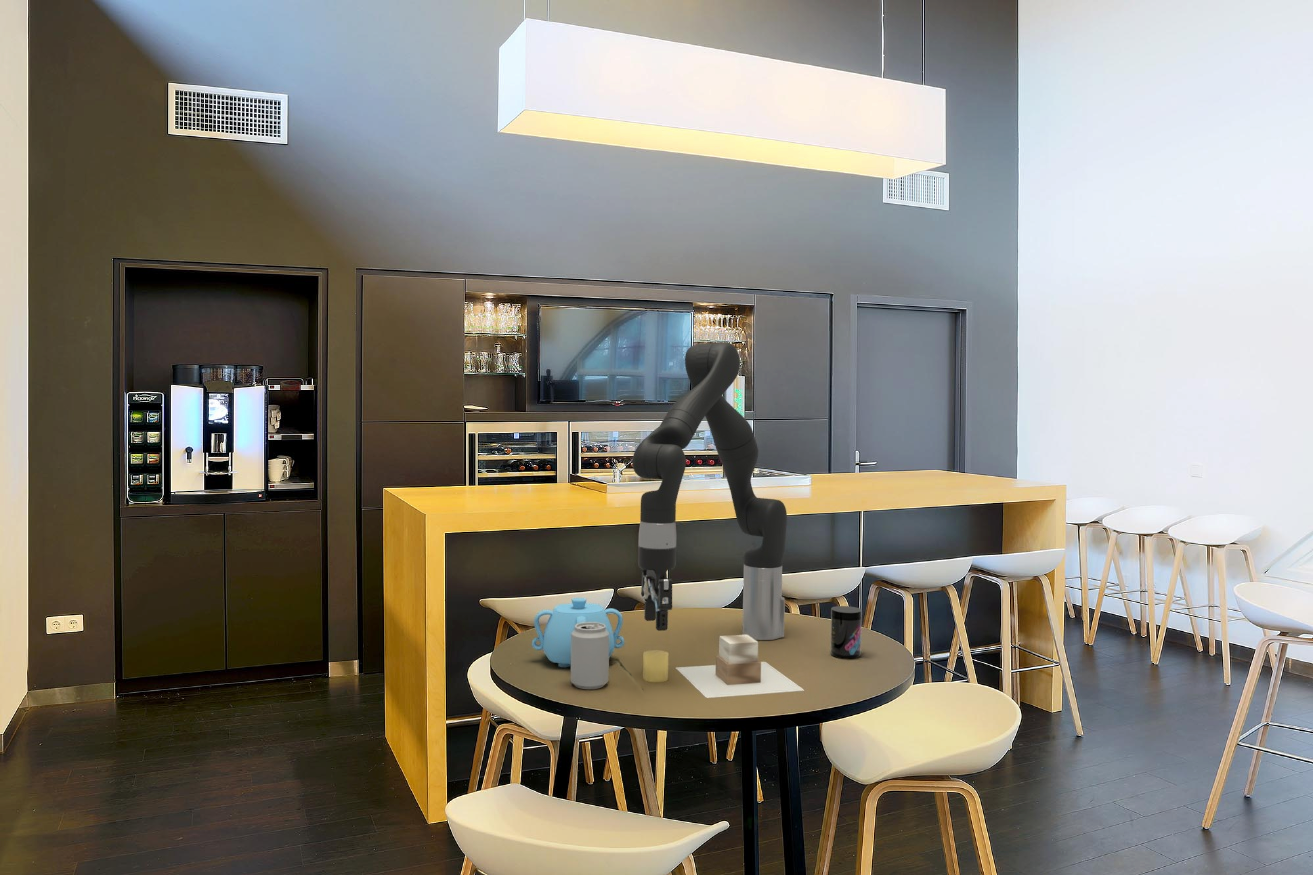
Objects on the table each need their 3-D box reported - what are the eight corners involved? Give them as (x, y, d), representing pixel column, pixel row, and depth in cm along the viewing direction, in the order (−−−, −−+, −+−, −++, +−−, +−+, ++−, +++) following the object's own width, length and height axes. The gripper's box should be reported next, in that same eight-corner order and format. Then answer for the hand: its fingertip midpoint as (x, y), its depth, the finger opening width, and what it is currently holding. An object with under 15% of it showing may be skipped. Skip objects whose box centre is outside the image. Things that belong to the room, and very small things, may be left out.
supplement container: (840, 660, 204) (841, 613, 203) (824, 652, 210) (825, 606, 210) (866, 658, 206) (867, 611, 205) (850, 650, 212) (851, 605, 212)
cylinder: (664, 678, 189) (664, 649, 188) (671, 686, 184) (671, 656, 184) (640, 680, 187) (640, 651, 187) (646, 687, 182) (647, 657, 182)
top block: (746, 653, 190) (747, 634, 189) (757, 662, 184) (758, 642, 184) (718, 655, 188) (719, 636, 188) (729, 663, 182) (729, 643, 182)
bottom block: (747, 672, 190) (748, 653, 190) (760, 682, 184) (761, 662, 183) (715, 674, 188) (715, 655, 188) (727, 685, 182) (727, 664, 182)
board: (765, 666, 198) (765, 661, 198) (804, 695, 179) (804, 690, 179) (675, 672, 193) (675, 667, 193) (706, 703, 174) (706, 697, 174)
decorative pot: (574, 677, 189) (575, 611, 188) (524, 660, 200) (525, 598, 199) (631, 661, 201) (632, 599, 200) (581, 646, 212) (582, 587, 211)
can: (570, 679, 187) (571, 620, 187) (607, 678, 188) (608, 620, 188) (570, 690, 180) (571, 629, 179) (609, 690, 181) (609, 629, 180)
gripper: (686, 549, 179) (684, 632, 179) (665, 538, 192) (663, 616, 193) (648, 550, 177) (646, 634, 177) (630, 539, 190) (628, 617, 191)
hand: (655, 625), depth 185 cm, fingers open, 8 cm apart
